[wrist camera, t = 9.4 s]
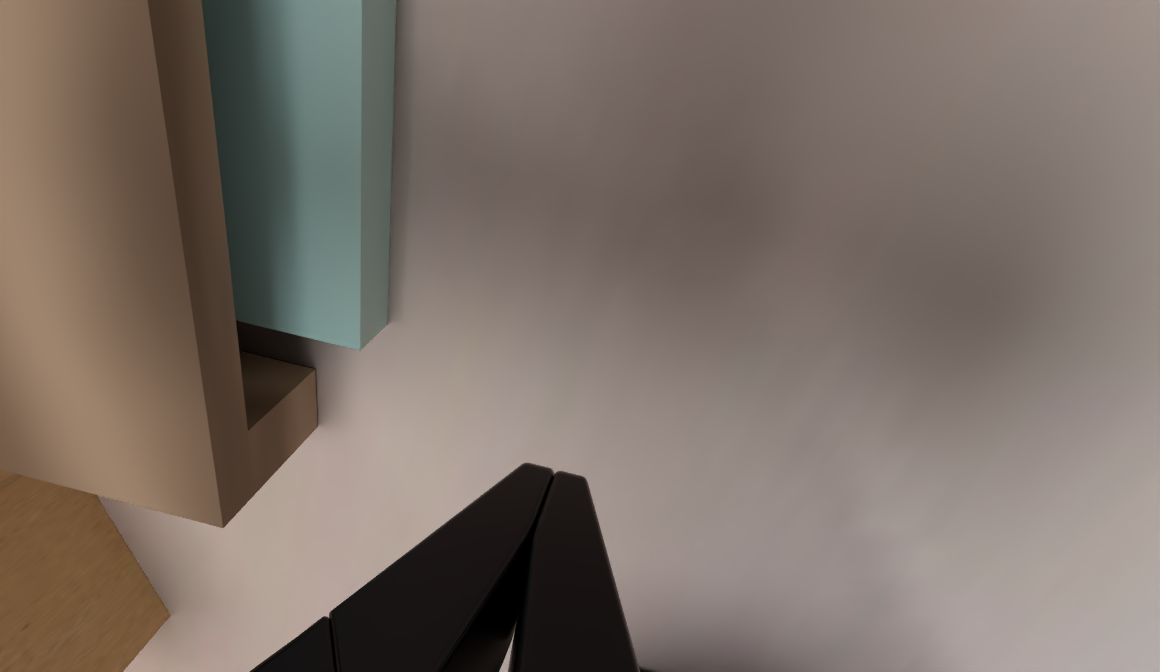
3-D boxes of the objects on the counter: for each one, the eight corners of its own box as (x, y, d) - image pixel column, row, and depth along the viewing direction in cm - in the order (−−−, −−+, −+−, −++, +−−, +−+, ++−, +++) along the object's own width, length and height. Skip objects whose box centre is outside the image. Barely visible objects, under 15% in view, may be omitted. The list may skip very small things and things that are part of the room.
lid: (415, -267, 12) (363, -317, 10) (395, 316, 17) (360, 350, 15) (-167, -363, 13) (-310, -424, 11) (-5, 220, 18) (-82, 242, 16)
